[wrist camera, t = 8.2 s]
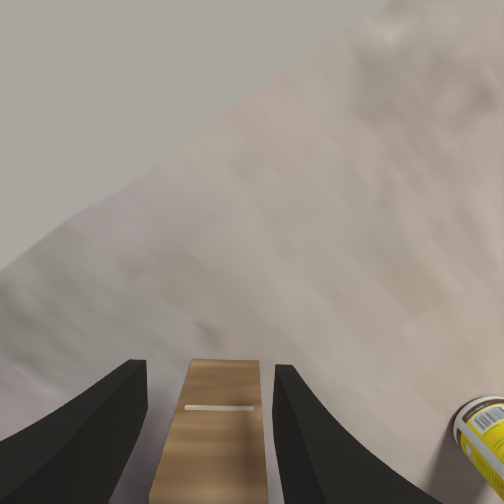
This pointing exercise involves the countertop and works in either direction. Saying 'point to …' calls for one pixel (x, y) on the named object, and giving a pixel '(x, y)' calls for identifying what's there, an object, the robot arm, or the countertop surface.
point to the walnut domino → (215, 438)
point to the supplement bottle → (483, 438)
